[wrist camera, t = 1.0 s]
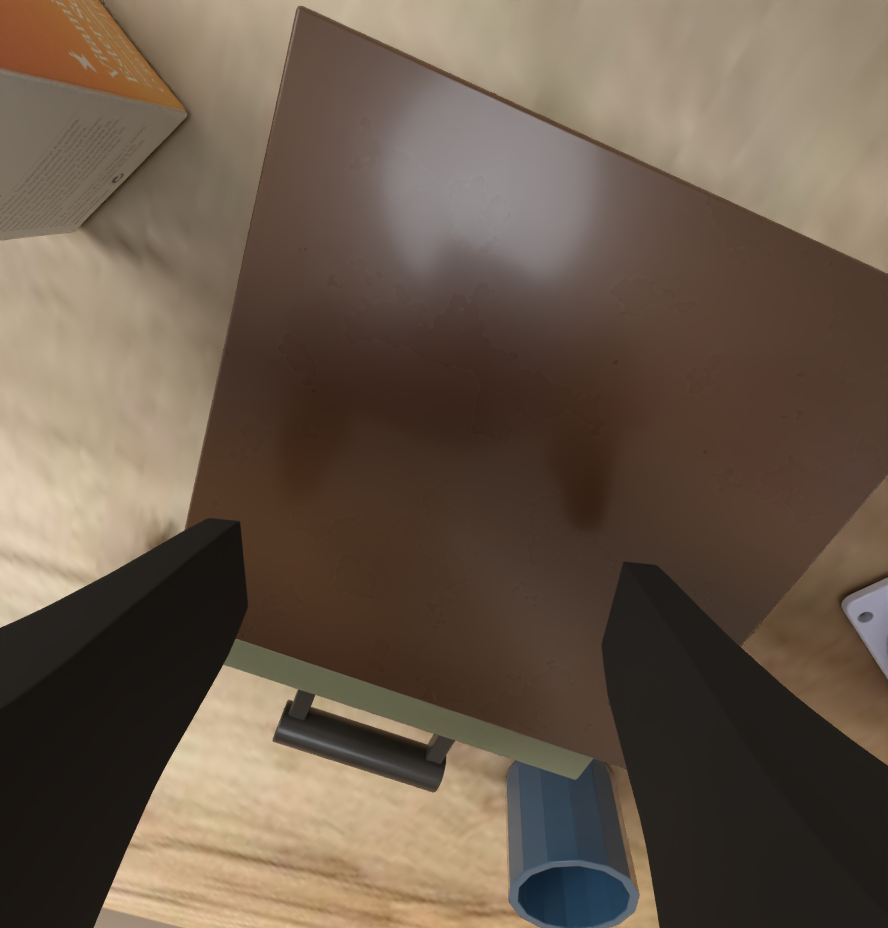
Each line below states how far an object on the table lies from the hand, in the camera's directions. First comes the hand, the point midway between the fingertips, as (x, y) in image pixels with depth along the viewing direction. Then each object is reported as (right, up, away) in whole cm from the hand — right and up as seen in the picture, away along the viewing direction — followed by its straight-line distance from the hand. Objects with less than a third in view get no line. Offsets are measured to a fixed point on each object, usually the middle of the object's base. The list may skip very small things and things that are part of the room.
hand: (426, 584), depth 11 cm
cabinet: (+2, +5, +9) cm, 10 cm away
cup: (+6, -14, +18) cm, 23 cm away
